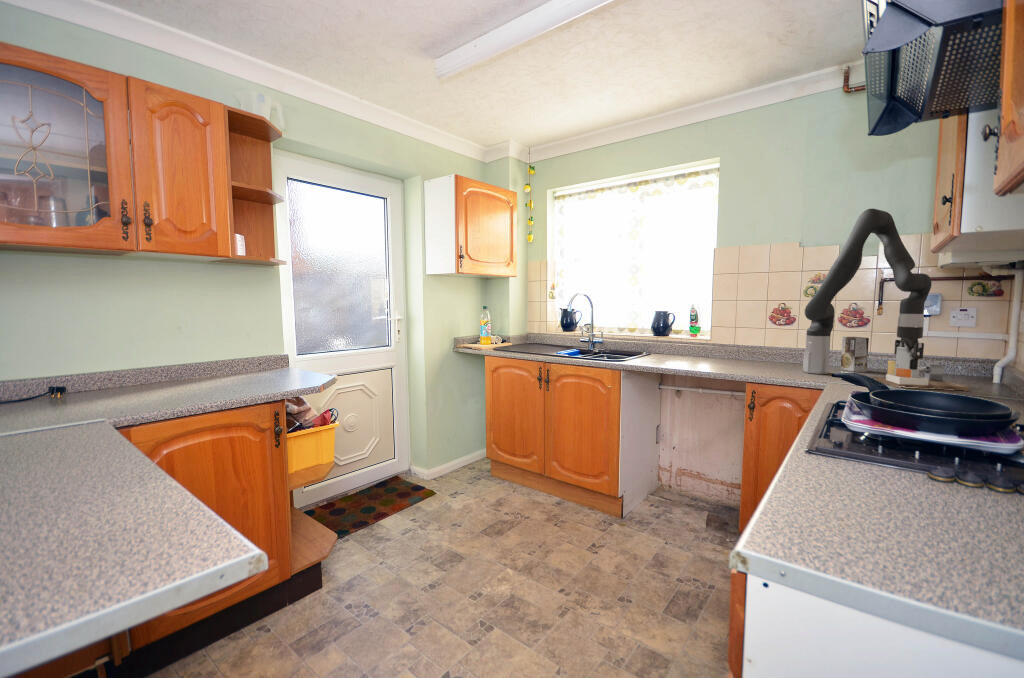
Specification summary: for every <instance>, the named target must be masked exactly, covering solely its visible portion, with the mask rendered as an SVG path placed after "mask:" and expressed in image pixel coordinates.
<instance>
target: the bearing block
mask: <svg viewBox="0 0 1024 678" xmlns="http://www.w3.org/2000/svg"><path fill="white" fill-rule="evenodd" d="M944 366H945V365H944V364H942V363H937V362H936V363H935V362H924V363H923V367H930V370H929V372H922V373H923V376H922V377H924V378H928V379H929V380H930V381H944V380H943V379H944V378H943V377H944Z"/></svg>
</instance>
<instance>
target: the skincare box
mask: <svg viewBox="0 0 1024 678" xmlns="http://www.w3.org/2000/svg"><path fill="white" fill-rule="evenodd" d="M910 351H914V348H912V349H911V350H910ZM919 355H920V353H919ZM895 356H896V357H895V361H896V364H895V375H894V376H898V377H903V378H918V377H919V375H920V372H919V367H920V364H921V359H919V360H918V366H917V369H916V370H912V369H909V366H910V360H911V359H910V356H909V354H907V351H906V348H905V347H897V353H896V355H895Z"/></svg>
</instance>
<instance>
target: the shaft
mask: <svg viewBox="0 0 1024 678" xmlns="http://www.w3.org/2000/svg"><path fill="white" fill-rule="evenodd" d="M895 364H896V360H888V361H887V373H886V374H895ZM929 370H930V367H924V366H922V367H921V366H919V373H923V372H929Z"/></svg>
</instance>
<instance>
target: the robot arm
mask: <svg viewBox="0 0 1024 678" xmlns="http://www.w3.org/2000/svg"><path fill="white" fill-rule="evenodd" d="M871 234H875V236H877V238H878V239H879V240H880V242H881V243H882V245H883V255H884V258H885V260H886V262H887V264H888V266H889V268H890V269H891V270H892V274H893V280H894V284H895V286H896V288H897V289H898V290H900V291H901V292H904V293H909V292H910V293H909V295H908V297H907V298H902V299H901V300H900V302H899V315H898V318H897V328H896V337H897V338H898V339H895V341H894V350H893V351H894V355H895V356H896V353H897V347H905V348H906V351H907V354H909V356H910V359H911V360H910V366H909V369H912V370H916V369H917V366H918V360H919V359H920V360H922V359H924V350H925V349H924V348H925V343H924V342H919V339H923V337H924V325H925V324H924V323H925V317H924V313H925V303H926V300H927V299H928V296H929V294H930V291H931V288H932V279H931V277H930V275H928V274H926V273H920V272H919V273H918V272H917V273H913V272H912V271H913V269H915V266H916V263H915V260H914V259H913V257H912V255H911V254H910V253H909V251H908V249H907V248H906V246H905V245H904V244H905V243H903V241H902V238H901V236H900V234H899V231H898V229H897V227H896V223H895V220H894V218H893V216H892V214H891V213H890V212H888V211H886V210H881V209H878V208H877V209H876V208H868V209H865V210H864V211H862V212H861V213H860V215H859V216H858V217H857V219H856V221H855V223H854V225H853V227H852V230H851V232H850V233H849V236H848V238H847V240H846V242H845V244H844V245H843V246H842V249H841V251H840V253H839V254H838V256H837V258H835V261H834V262H833V263H832V265H831V267H830V269H829V271H828V273H827V274H826V276H825V278H824V279H823V281H822V283H821V285H820V286H819V288H818V289H817V291H816V292H815V293H814V295H813V296H812V297H811V298H810V301H808V303H807V304H806V306H805V308H804V316H805V317H806V319H808V320H809V321H810V322H811V323H810V326H809V327H808V328H807V330H806V334H805V335H806V338H805V350H804V351H803V358H802V359H803V362H802V363H803V364H802V372H805V373H807V374H809V373H810V374H817V375H818V374H819V375H820V374H821V375H823V374H824V375H825V374H829V369H830V368H829V367H830V353H831V352H830V351H831V336H832V334H831V333H832V332H833V328H834V323H835V320H834V319H835V308H834V307H835V306H834V305H833V304H832V301H833V300H834V298H835V297H836V295H837V294H838V293H839V292H841V290H843V288H845V287H846V286H847V285H848V284H849V283H850V282H851V281H852V279H853V278H854V277H855V275H856V274H857V272H858V271H859V269H860V267H861V265H862V261H863V251H864V246H865V243H866V242H867V240H868V238H869V237H870V235H871ZM899 338H900V339H899ZM912 348H914V351H910V350H911V349H912ZM919 353H920V355H919Z"/></svg>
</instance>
